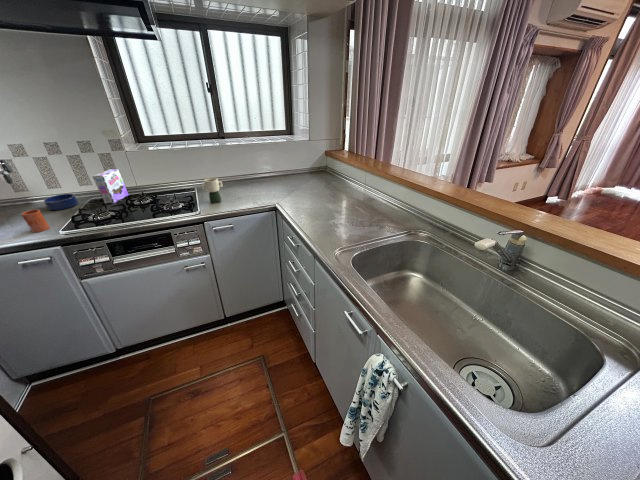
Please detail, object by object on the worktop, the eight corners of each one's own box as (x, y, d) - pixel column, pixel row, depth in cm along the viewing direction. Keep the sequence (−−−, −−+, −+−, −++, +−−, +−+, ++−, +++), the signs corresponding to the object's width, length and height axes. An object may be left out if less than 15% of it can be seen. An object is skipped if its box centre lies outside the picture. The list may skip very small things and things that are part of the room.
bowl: (43, 212, 144) (38, 203, 141) (56, 203, 155) (51, 195, 152) (72, 209, 147) (67, 200, 145) (82, 200, 158) (78, 192, 156)
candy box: (114, 203, 153) (102, 175, 145) (104, 203, 153) (91, 175, 145) (129, 195, 165) (119, 168, 157) (120, 195, 165) (109, 168, 157)
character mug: (224, 197, 159) (220, 176, 152) (226, 201, 153) (222, 179, 147) (205, 201, 155) (199, 179, 148) (206, 205, 149) (201, 182, 143)
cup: (29, 233, 123) (17, 215, 119) (37, 227, 128) (26, 210, 124) (45, 231, 125) (34, 213, 120) (52, 225, 130) (42, 208, 125)
